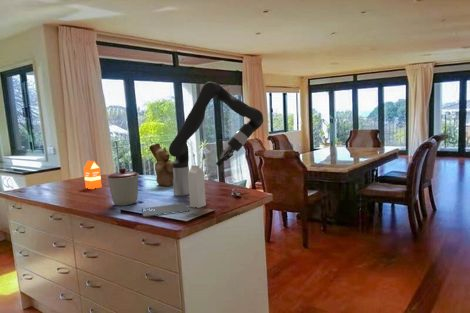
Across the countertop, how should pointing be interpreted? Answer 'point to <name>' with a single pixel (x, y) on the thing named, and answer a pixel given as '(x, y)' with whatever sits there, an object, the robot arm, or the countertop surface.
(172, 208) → the mat
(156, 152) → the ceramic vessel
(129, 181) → the canister
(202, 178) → the milk
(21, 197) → the countertop surface
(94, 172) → the orange juice
